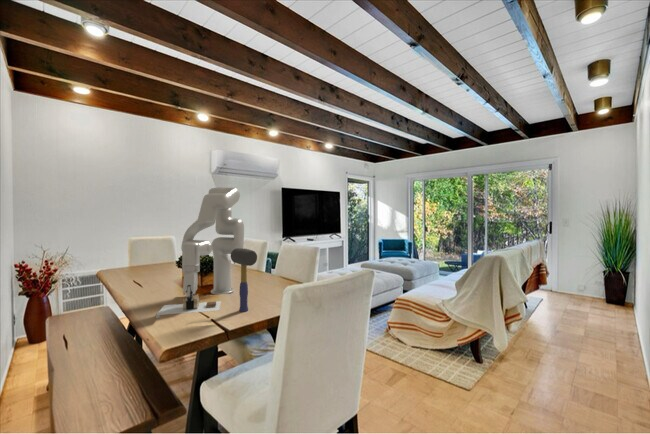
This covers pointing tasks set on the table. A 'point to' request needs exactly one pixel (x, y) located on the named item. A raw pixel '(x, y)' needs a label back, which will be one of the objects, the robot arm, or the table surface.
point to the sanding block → (196, 302)
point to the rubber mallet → (243, 272)
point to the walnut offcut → (210, 304)
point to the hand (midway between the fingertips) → (191, 306)
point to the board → (179, 309)
